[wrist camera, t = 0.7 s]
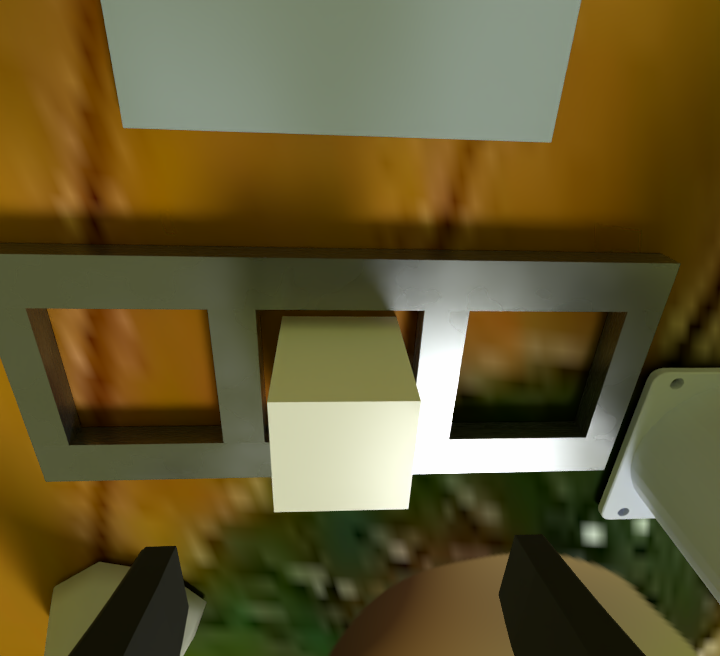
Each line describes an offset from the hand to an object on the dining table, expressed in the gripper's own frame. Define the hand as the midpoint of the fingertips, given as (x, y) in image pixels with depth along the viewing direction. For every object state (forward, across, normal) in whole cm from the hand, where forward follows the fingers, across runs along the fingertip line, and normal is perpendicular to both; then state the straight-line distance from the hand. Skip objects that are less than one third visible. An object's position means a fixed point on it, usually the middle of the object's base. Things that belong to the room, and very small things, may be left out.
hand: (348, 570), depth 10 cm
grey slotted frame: (+8, 0, 0) cm, 8 cm away
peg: (+8, 0, 0) cm, 8 cm away
